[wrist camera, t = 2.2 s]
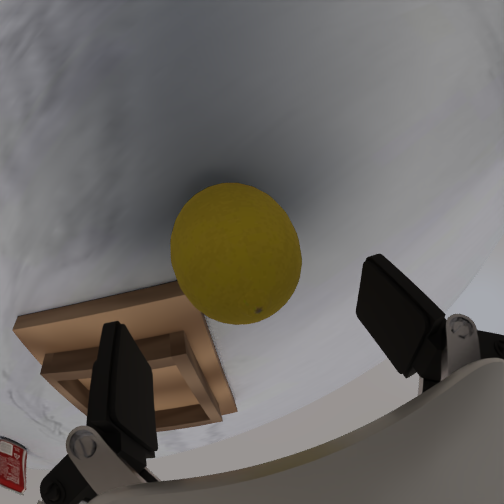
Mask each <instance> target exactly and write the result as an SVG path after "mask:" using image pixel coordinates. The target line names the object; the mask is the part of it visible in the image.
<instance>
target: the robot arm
mask: <svg viewBox="0 0 504 504" xmlns="http://www.w3.org/2000/svg"><path fill="white" fill-rule="evenodd" d="M356 315H357V317H358V319H359V320H360V321H361V323H362V324H363V325H364V327H365V328H366V329H367V330H368V332H369V333H370V334H371V336H372V337H373V338H374V340H375V341H376V342H377V344H378V345H379V346H380V348H381V349H382V351H383V352H384V353H385V355H386V356H387V357H388V359H389V360H390V361H391V363H392V364H393V365H394V367H395V368H396V370H397V371H398V372H399V373H400V374H403V375H404V376H405V378H408V377H410V376H412V375H413V374H415V373H416V372H417V373H418V374H419V376H420V377H419V388H418V396H417V397H416V398H414V399H412V400H411V401H409V402H407V403H406V404H404V405H402V406H401V407H399V408H397V409H396V410H394V411H392V412H390V413H388V414H386V415H384V416H383V417H381V418H379V419H377V420H375V421H373V422H371V423H369V424H367V425H365V426H363V427H361V428H358V429H356V430H354V431H352V432H350V433H348V434H345V435H343V436H341V437H339V438H336V439H334V440H331V441H329V442H326V443H324V444H322V445H319V446H316V447H314V448H311V449H308V450H305V451H302V452H299V453H296V454H294V455H290V456H287V457H284V458H281V459H277V460H274V461H271V462H267V463H263V464H259V465H255V466H252V467H248V468H243V469H239V470H235V471H229V472H224V473H219V474H213V475H207V476H201V477H194V478H187V479H179V480H170V481H161V480H160V479H159V478H157V477H156V476H155V475H154V474H153V473H152V472H151V471H150V470H149V469H148V468H147V467H146V458H155V452H154V451H157V450H158V443H157V433H156V422H155V408H154V391H153V373H152V369H151V367H150V365H149V363H148V362H147V360H146V359H145V357H144V355H143V354H142V352H141V351H140V349H139V347H138V346H137V344H136V342H135V341H134V339H133V337H132V336H131V334H130V332H129V330H128V329H127V327H126V325H125V324H121V323H120V322H119V321H114V322H109V323H104V324H103V328H102V333H101V338H100V344H99V350H98V356H97V360H96V361H95V362H94V364H93V369H92V376H91V383H90V391H89V401H88V411H87V425H86V426H79V427H76V428H75V429H73V430H72V431H71V432H70V433H69V435H68V437H67V440H66V450H67V453H68V454H67V455H66V456H65V457H64V458H63V459H62V460H61V461H60V462H59V463H58V464H57V465H56V466H55V467H54V468H53V469H52V470H51V471H50V473H49V474H47V475H46V477H45V478H44V479H43V480H42V482H41V485H40V493H41V497H42V499H43V500H42V501H38V503H37V504H504V335H500V334H495V333H489V332H484V331H478V330H477V329H476V326H475V324H474V322H473V321H472V320H471V319H470V318H469V317H467V316H465V315H462V314H453V315H451V316H450V317H448V319H447V320H446V319H445V318H444V317H445V313H444V312H443V311H442V310H441V309H440V308H439V307H438V306H437V305H436V304H435V303H434V302H433V301H432V300H431V299H430V298H429V297H427V296H426V295H425V294H424V293H423V292H422V291H421V290H420V289H419V288H418V287H417V286H416V285H415V284H414V283H413V282H412V281H411V280H410V279H409V278H407V277H406V276H405V275H404V274H403V273H402V272H401V271H400V270H399V269H398V268H396V267H395V266H394V265H393V264H392V263H391V262H390V261H389V260H387V259H386V258H385V257H384V256H383V255H382V254H376V255H373V256H370V257H367V258H366V261H365V262H364V263H363V268H362V275H361V282H360V288H359V295H358V301H357V306H356Z"/></svg>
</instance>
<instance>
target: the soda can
mask: <svg viewBox="0 0 504 504" xmlns="http://www.w3.org/2000/svg"><path fill="white" fill-rule="evenodd" d="M26 463H27V451H26V450H25V449H24V447H23V446H21V445H20V444H18V443H16V442H14V441H12V440H9V439H6V438H4V439H0V486H2V487H4V488H6V489H8V490H11V491H13V492H15V493H18V494H20V495H24V494H23V492H24V491H25V490H26Z"/></svg>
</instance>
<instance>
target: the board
mask: <svg viewBox="0 0 504 504" xmlns="http://www.w3.org/2000/svg"><path fill="white" fill-rule="evenodd" d="M114 321H119V322H120V323H121V324H125V325H126V327H127V329H128V330H129V332H130V334H131V336H132V337H133V339H134V341H135V342H136V344H137V346H138V347H139V349H140V351H141V352H142V354H143V355H144V357H145V359H146V360H147V362H148V363H149V365H150V367H151V369H152V373H153V391H154V408H155V422H156V432H160V431H168V430H175V429H182V428H189V427H195V426H200V425H206V424H211V423H216V422H221V421H223V420H222V416H221V415H225V414H230V413H234V412H238V411H237V407H236V404H235V400H234V398H233V395H232V392H231V390H230V387H229V385H228V382H227V379H226V377H225V374H224V371H223V369H222V366H221V363H220V360H219V358H218V355H217V352H216V349H215V346H214V344H213V341H212V338H211V335H210V332H209V329H208V326H207V323H206V320H205V317H204V314H203V313H202V312H200V311H199V310H198V309H196V308H195V307H194V306H193V305H192V303H191V302H190V301H189V300H188V298H187V297H186V296H185V294H184V293H183V291H182V290H181V288H180V286H179V284H178V281H175V282H170V283H166V284H162V285H157V286H153V287H149V288H144V289H140V290H136V291H131V292H127V293H123V294H118V295H114V296H109V297H105V298H100V299H96V300H92V301H87V302H83V303H78V304H74V305H69V306H64V307H60V308H55V309H51V310H46V311H41V312H37V313H32V314H27V315H23V316H18V318H17V320H16V322H15V325H14V327H13V332H14V333H15V334H16V335H17V337H18V338H19V339H20V340H21V342H22V343H23V344H24V345H25V347H26V348H27V349H28V350H29V351H30V352H31V354H32V355H33V356H34V357H35V358H36V359H37V360H38V361H39V363H40V364H41V365H42V368H41V373H40V374H41V375H42V376H43V377H44V378H45V379H46V380H47V381H48V382H49V383H50V384H51V385H52V386H53V387H54V388H55V389H56V390H57V391H58V392H59V393H60V394H61V395H63V396H64V397H65V398H66V399H67V400H68V401H69V402H71V403H72V404H73V405H74V406H75V407H76V408H78V409H79V410H80V411H81V412H83V413H84V414H85V415H86V416H87V411H88V401H89V391H90V383H91V376H92V369H93V364H94V362H95V361H96V360H97V356H98V350H99V344H100V338H101V333H102V328H103V324H104V323H109V322H114Z"/></svg>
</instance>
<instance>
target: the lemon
mask: <svg viewBox="0 0 504 504" xmlns="http://www.w3.org/2000/svg"><path fill="white" fill-rule="evenodd" d="M171 263H172V267H173V270H174V272H175V275H176V278H177V281H178V284H179V286H180V288H181V290H182V291H183V293H184V294H185V296H186V297H187V298H188V300H189V301H190V302H191V303H192V305H193V306H194V307H195V308H196V309H198V310H199V311H200V312H202V313H203V314H205V315H206V316H208V317H209V318H211V319H214V320H216V321H219V322H222V323H227V324H234V325H239V324H251V323H255V322H259V321H261V320H264V319H266V318H268V317H270V316H271V315H273V314H274V313H276V312H277V311H278V310H279V309H281V308H282V307H283V306H284V305H285V304H286V303H287V301H288V300H289V299H290V297H291V296H292V294H293V293H294V291H295V289H296V286H297V284H298V282H299V278H300V273H301V266H302V257H301V251H300V245H299V240H298V236H297V233H296V231H295V229H294V227H293V225H292V223H291V221H290V219H289V217H288V215H287V214H286V212H285V211H284V210H283V209H282V207H281V206H280V205H279V204H278V203H277V202H276V201H275V200H274V199H273V198H272V197H271V196H269V195H268V194H266V193H264V192H262V191H260V190H259V189H257V188H255V187H253V186H249V185H244V184H240V183H221V184H217V185H213V186H210V187H207V188H206V189H204V190H202V191H200V192H199V193H197V194H195V195H194V196H193V197H192V198H191V199H190V200H189V201H188V202H187V203H186V204H185V205H184V207H183V208H182V210H181V211H180V213H179V215H178V216H177V218H176V221H175V224H174V227H173V231H172V235H171Z"/></svg>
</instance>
